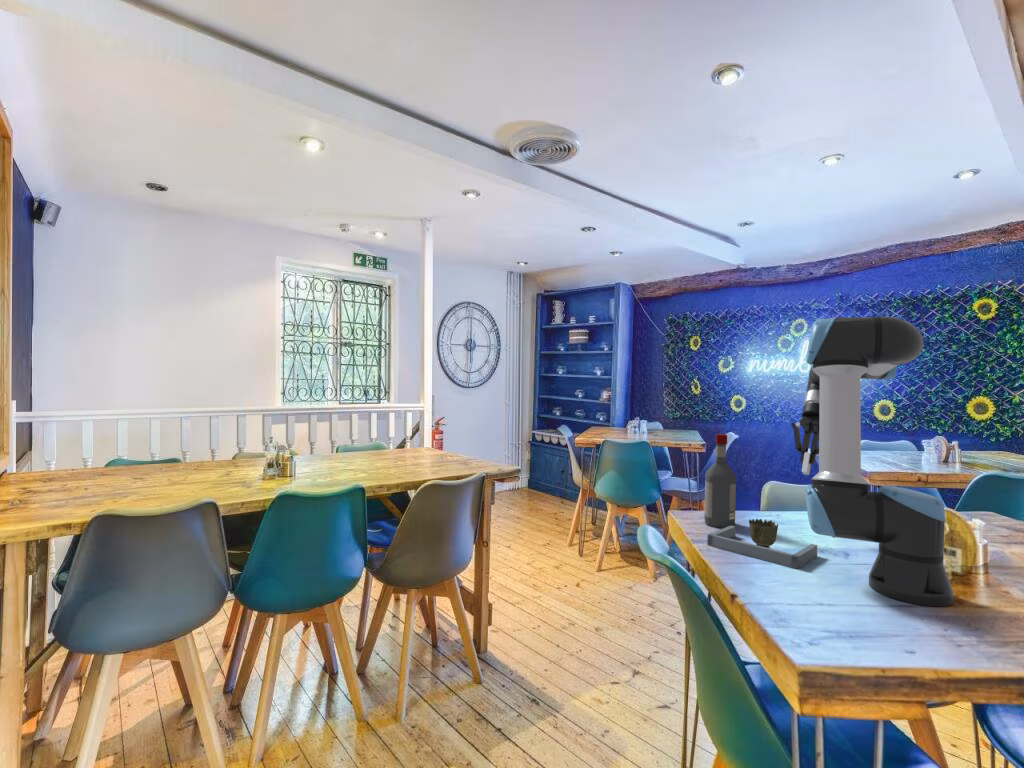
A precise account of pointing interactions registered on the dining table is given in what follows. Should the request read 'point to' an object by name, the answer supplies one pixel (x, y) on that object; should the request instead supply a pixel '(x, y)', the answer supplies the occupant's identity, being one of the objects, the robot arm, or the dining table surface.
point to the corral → (760, 549)
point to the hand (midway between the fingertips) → (805, 473)
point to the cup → (763, 532)
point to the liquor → (720, 489)
